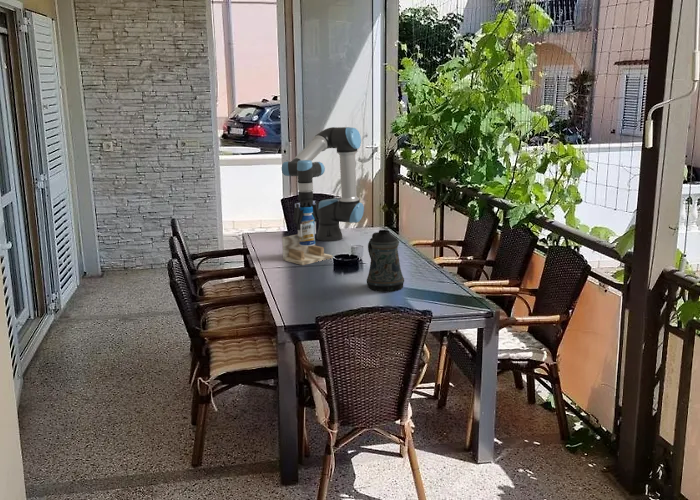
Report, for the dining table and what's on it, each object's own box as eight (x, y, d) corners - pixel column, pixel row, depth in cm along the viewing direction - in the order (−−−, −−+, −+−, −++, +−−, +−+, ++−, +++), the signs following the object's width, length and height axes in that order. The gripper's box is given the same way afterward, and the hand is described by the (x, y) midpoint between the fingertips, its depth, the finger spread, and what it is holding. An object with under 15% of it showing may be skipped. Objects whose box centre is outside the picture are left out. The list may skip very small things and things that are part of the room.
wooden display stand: (312, 253, 367) (312, 231, 364) (332, 258, 355) (332, 235, 353) (283, 260, 354) (282, 237, 351) (302, 265, 342) (301, 241, 340)
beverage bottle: (318, 243, 355) (317, 205, 350) (310, 247, 347) (309, 208, 343) (304, 242, 358) (302, 204, 354) (296, 246, 351) (294, 207, 346)
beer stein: (392, 294, 290) (392, 236, 285) (354, 288, 300) (352, 232, 295) (410, 284, 304) (410, 229, 298) (372, 279, 314) (372, 225, 308)
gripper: (316, 188, 356) (318, 230, 361) (284, 192, 342) (286, 237, 347) (326, 189, 351) (327, 232, 356) (293, 194, 337) (295, 239, 342)
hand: (307, 234), depth 352 cm, fingers closed on beverage bottle, 8 cm apart
